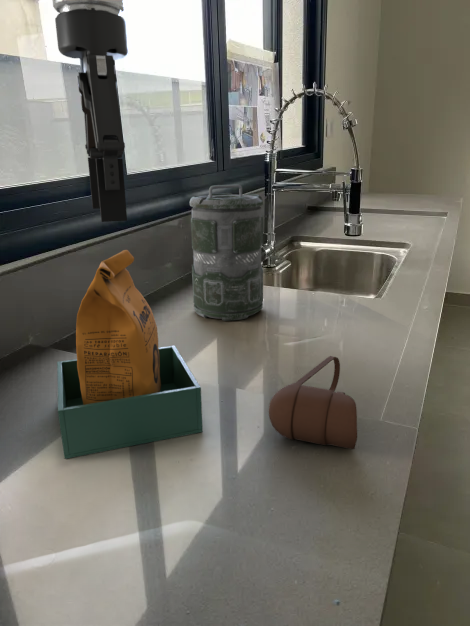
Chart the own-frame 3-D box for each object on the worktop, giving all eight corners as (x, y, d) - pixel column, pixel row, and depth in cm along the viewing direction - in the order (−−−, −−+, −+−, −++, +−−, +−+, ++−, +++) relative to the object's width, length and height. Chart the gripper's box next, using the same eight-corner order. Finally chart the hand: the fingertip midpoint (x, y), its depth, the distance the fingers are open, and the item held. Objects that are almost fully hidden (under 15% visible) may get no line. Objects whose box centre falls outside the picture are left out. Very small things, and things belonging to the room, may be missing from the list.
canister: (244, 297, 124) (243, 181, 115) (275, 315, 110) (277, 185, 101) (184, 306, 117) (178, 184, 108) (209, 326, 104) (205, 189, 95)
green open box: (64, 459, 60) (57, 411, 58) (62, 402, 73) (57, 361, 71) (202, 432, 65) (200, 387, 63) (176, 383, 79) (174, 345, 76)
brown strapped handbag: (354, 464, 58) (358, 412, 56) (260, 444, 62) (260, 394, 60) (375, 396, 73) (379, 353, 71) (299, 383, 78) (300, 342, 76)
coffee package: (172, 393, 74) (164, 247, 67) (148, 438, 63) (135, 268, 56) (108, 390, 76) (94, 247, 69) (73, 434, 64) (51, 267, 57)
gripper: (144, -16, 44) (157, 226, 50) (113, 40, 66) (125, 202, 73) (54, -25, 41) (81, 230, 48) (54, 37, 64) (72, 205, 70)
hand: (108, 214), depth 60 cm, fingers open, 13 cm apart
